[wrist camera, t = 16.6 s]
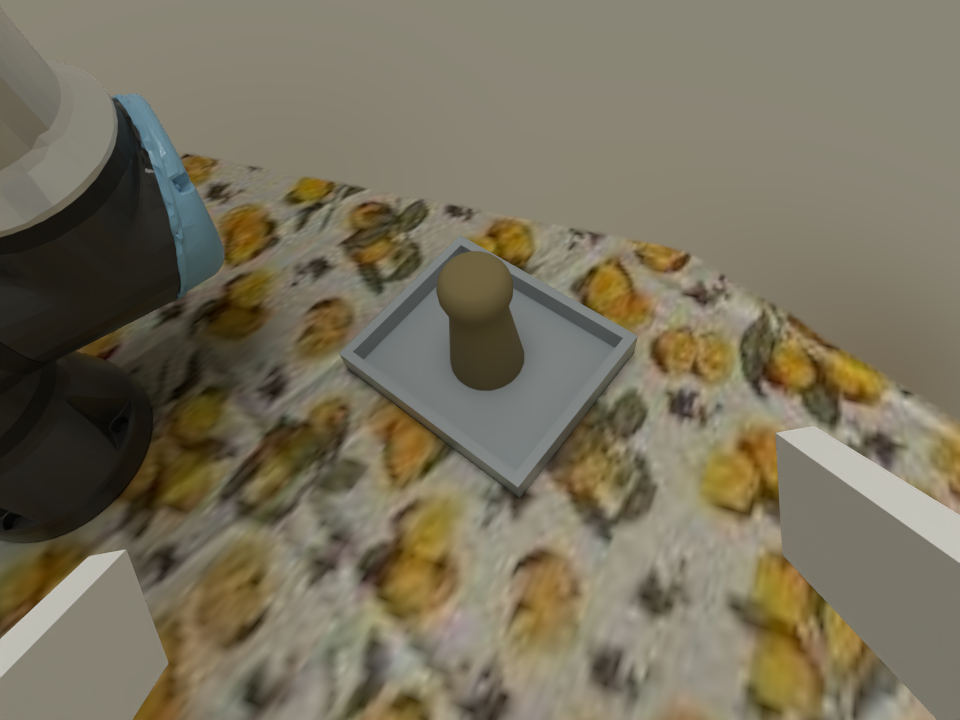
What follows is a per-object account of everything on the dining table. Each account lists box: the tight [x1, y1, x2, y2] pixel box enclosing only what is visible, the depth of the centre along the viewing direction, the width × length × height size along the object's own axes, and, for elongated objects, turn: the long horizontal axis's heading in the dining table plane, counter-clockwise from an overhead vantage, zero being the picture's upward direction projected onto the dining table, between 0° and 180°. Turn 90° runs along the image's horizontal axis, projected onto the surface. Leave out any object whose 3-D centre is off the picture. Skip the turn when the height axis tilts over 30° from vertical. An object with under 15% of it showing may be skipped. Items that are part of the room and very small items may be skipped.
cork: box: [436, 251, 525, 391], centre depth 43 cm, size 6×6×11 cm
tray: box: [339, 235, 638, 498], centre depth 47 cm, size 18×15×2 cm
